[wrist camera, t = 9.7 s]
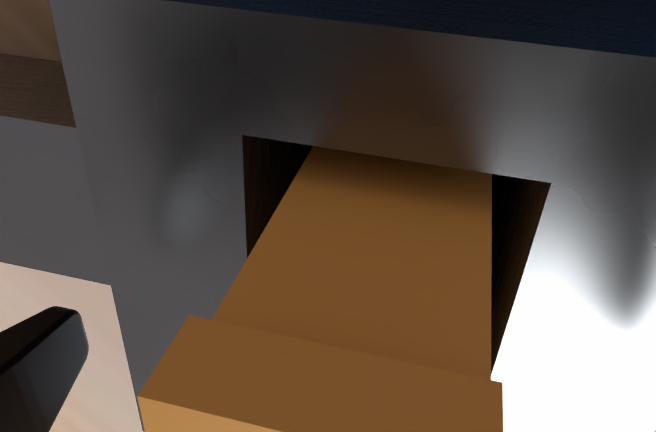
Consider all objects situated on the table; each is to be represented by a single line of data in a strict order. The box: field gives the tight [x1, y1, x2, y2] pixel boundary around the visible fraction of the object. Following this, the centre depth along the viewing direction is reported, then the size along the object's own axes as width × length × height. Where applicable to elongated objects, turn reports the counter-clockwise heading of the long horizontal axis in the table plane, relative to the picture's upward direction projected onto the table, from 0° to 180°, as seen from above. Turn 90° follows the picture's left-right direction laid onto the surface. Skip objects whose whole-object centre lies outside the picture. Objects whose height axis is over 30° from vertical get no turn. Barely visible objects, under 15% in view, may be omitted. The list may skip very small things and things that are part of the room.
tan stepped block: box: [137, 146, 503, 432], centre depth 10 cm, size 3×6×9 cm, turn 177°
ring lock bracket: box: [0, 0, 656, 432], centre depth 11 cm, size 28×11×6 cm, turn 87°
